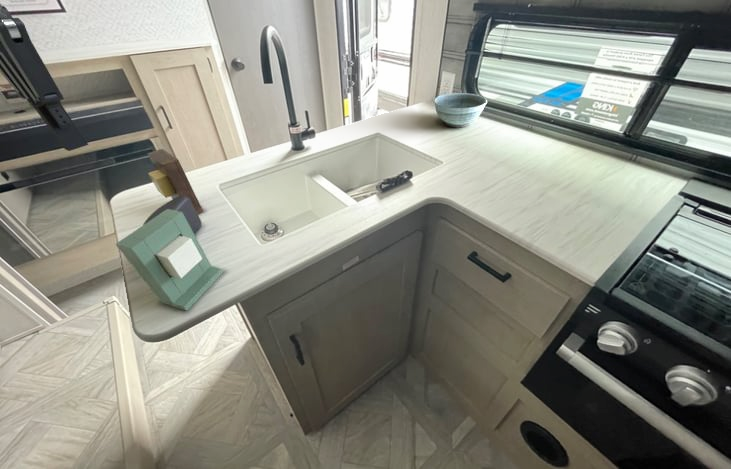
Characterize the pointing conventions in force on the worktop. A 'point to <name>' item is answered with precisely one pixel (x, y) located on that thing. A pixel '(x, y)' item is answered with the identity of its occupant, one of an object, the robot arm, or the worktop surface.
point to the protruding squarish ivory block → (178, 256)
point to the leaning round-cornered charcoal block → (183, 206)
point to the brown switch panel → (174, 176)
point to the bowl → (459, 108)
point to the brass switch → (162, 183)
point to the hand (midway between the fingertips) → (76, 146)
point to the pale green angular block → (142, 258)
